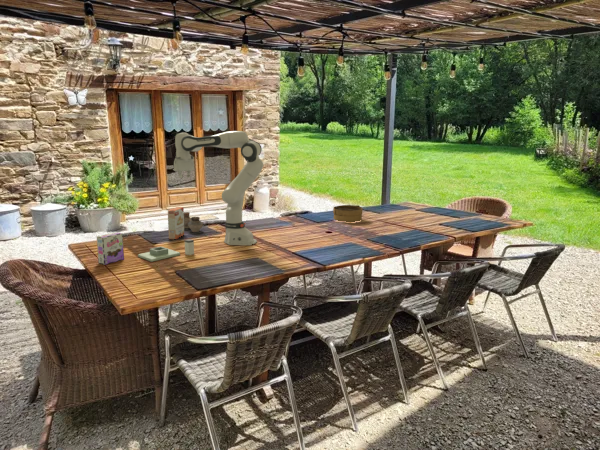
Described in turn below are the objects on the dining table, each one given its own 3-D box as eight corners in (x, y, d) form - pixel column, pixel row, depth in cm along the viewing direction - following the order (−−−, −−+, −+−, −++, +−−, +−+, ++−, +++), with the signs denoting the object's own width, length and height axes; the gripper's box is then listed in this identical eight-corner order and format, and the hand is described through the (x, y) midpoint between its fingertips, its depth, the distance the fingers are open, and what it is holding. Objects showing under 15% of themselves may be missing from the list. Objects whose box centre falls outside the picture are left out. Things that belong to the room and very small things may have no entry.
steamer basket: (331, 222, 389) (332, 209, 387) (334, 217, 413) (334, 204, 411) (361, 224, 385) (362, 211, 383) (362, 218, 410) (363, 206, 407)
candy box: (104, 265, 270) (102, 237, 267) (98, 263, 273) (95, 236, 270) (124, 259, 282) (122, 232, 278) (118, 257, 285) (116, 231, 281)
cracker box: (176, 239, 328) (175, 210, 323) (168, 239, 329) (166, 210, 324) (185, 235, 341) (183, 207, 337) (177, 234, 343) (176, 206, 338)
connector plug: (190, 252, 297) (189, 239, 295) (194, 253, 295) (193, 240, 293) (185, 253, 295) (184, 240, 293) (188, 255, 292) (188, 241, 290)
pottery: (190, 225, 372) (189, 211, 369) (206, 231, 354) (205, 216, 351) (177, 227, 365) (176, 212, 362) (192, 233, 346) (192, 218, 344)
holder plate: (166, 250, 302) (166, 243, 301) (180, 254, 292) (179, 247, 291) (138, 256, 287) (137, 249, 286) (151, 261, 278) (151, 254, 277)
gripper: (179, 156, 305) (180, 177, 307) (194, 157, 324) (196, 177, 326) (170, 157, 307) (172, 178, 308) (186, 157, 326) (188, 177, 328)
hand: (184, 177), depth 317 cm, fingers open, 8 cm apart
